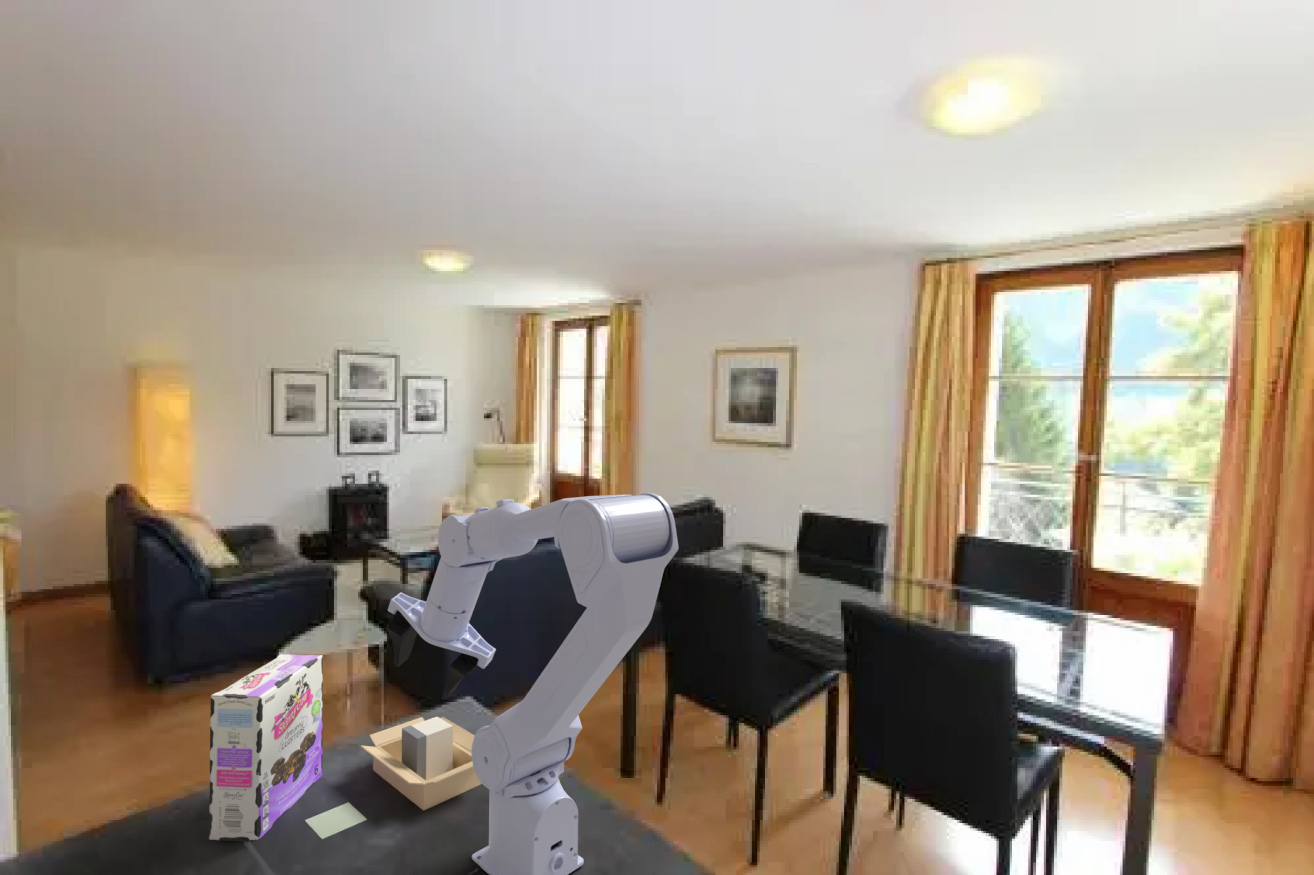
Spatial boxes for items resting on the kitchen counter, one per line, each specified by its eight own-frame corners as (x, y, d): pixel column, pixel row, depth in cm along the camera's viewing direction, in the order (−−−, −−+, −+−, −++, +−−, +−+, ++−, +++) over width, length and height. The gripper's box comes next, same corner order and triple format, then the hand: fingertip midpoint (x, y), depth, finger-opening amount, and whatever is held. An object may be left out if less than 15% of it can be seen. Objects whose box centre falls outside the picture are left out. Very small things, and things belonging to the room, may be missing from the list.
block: (436, 763, 90) (437, 715, 89) (452, 774, 87) (453, 725, 87) (401, 778, 86) (401, 728, 86) (417, 790, 83) (417, 738, 83)
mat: (366, 822, 77) (367, 819, 77) (322, 842, 73) (322, 838, 73) (348, 805, 80) (348, 802, 80) (304, 823, 77) (304, 820, 77)
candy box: (259, 844, 73) (259, 696, 72) (206, 842, 73) (206, 695, 73) (324, 777, 87) (325, 652, 86) (280, 775, 87) (280, 651, 86)
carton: (435, 742, 96) (435, 712, 96) (503, 786, 85) (503, 752, 85) (353, 773, 88) (353, 740, 87) (416, 826, 76) (417, 789, 76)
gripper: (518, 610, 84) (488, 686, 89) (424, 554, 86) (399, 632, 91) (489, 641, 77) (458, 721, 82) (387, 580, 79) (363, 661, 84)
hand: (425, 676), depth 86 cm, fingers open, 7 cm apart
